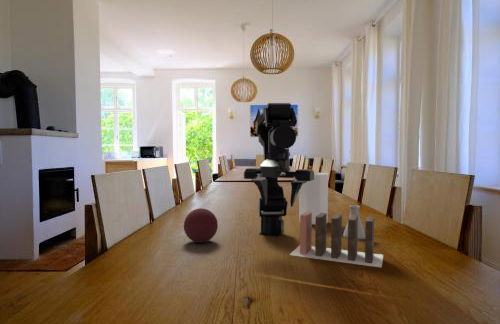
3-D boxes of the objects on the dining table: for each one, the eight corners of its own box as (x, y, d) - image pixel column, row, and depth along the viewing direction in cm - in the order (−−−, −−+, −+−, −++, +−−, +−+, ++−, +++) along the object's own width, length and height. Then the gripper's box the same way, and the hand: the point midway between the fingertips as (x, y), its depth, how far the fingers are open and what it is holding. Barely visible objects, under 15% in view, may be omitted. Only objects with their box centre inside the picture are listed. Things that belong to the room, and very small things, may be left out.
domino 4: (347, 260, 80) (348, 219, 80) (350, 253, 86) (351, 215, 86) (354, 261, 80) (354, 220, 79) (357, 253, 85) (357, 215, 85)
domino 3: (331, 257, 82) (331, 218, 82) (335, 251, 88) (335, 213, 87) (337, 258, 81) (338, 218, 81) (341, 251, 87) (341, 214, 87)
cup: (332, 221, 127) (332, 173, 126) (322, 226, 118) (322, 175, 117) (305, 217, 133) (305, 172, 132) (293, 222, 124) (293, 173, 123)
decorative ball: (224, 241, 98) (224, 208, 98) (198, 249, 91) (197, 213, 90) (203, 235, 105) (203, 204, 104) (177, 242, 98) (176, 208, 97)
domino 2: (315, 255, 84) (315, 216, 83) (320, 249, 89) (320, 212, 89) (321, 256, 83) (321, 217, 83) (326, 250, 89) (326, 213, 88)
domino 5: (364, 262, 79) (365, 220, 78) (367, 255, 84) (367, 216, 84) (372, 263, 78) (372, 221, 78) (373, 255, 84) (374, 216, 83)
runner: (289, 256, 84) (289, 254, 84) (300, 246, 94) (300, 244, 94) (381, 269, 75) (381, 267, 75) (383, 256, 85) (383, 254, 85)
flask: (368, 241, 99) (368, 208, 98) (343, 240, 100) (343, 207, 100) (364, 235, 106) (365, 204, 105) (341, 234, 107) (341, 203, 107)
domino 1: (299, 253, 85) (300, 215, 85) (305, 247, 91) (306, 211, 90) (305, 254, 85) (306, 216, 84) (311, 248, 90) (311, 212, 90)
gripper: (235, 148, 86) (235, 207, 87) (304, 148, 79) (304, 213, 80) (251, 149, 97) (251, 201, 97) (315, 149, 89) (314, 206, 90)
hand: (278, 205), depth 91 cm, fingers open, 7 cm apart
